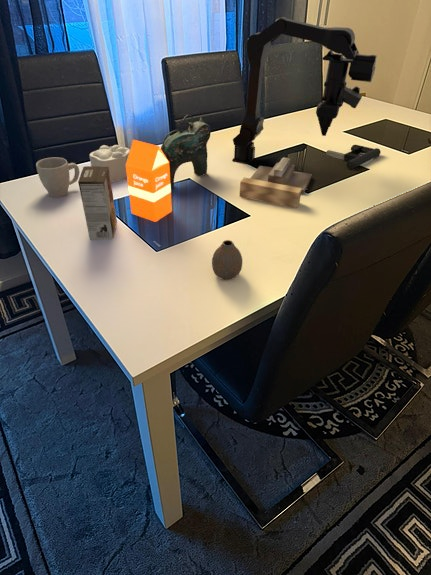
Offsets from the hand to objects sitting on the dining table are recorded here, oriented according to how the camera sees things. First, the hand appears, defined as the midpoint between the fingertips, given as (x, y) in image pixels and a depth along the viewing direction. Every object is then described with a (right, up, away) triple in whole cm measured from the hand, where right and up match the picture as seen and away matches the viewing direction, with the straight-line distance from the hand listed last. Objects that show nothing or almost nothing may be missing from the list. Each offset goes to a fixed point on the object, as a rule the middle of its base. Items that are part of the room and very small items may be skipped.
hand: (326, 131), depth 134 cm
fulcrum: (-14, -15, +3) cm, 21 cm away
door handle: (+15, -2, +21) cm, 26 cm away
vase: (-33, -47, -37) cm, 69 cm away
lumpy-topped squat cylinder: (-69, -12, +6) cm, 71 cm away
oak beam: (-19, -24, -7) cm, 31 cm away
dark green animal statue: (-45, -15, +3) cm, 48 cm away
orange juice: (-54, -29, -14) cm, 63 cm away
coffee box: (-65, -35, -23) cm, 78 cm away
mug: (-82, -21, -5) cm, 85 cm away
